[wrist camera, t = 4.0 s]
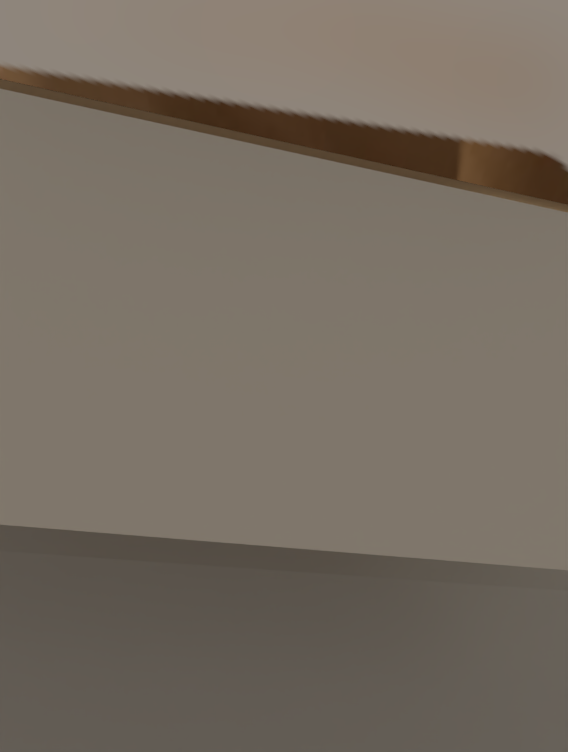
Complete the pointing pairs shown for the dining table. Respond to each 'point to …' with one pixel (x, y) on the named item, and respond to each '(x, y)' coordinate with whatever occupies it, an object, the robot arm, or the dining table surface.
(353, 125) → the dining table surface
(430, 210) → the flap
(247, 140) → the carton
